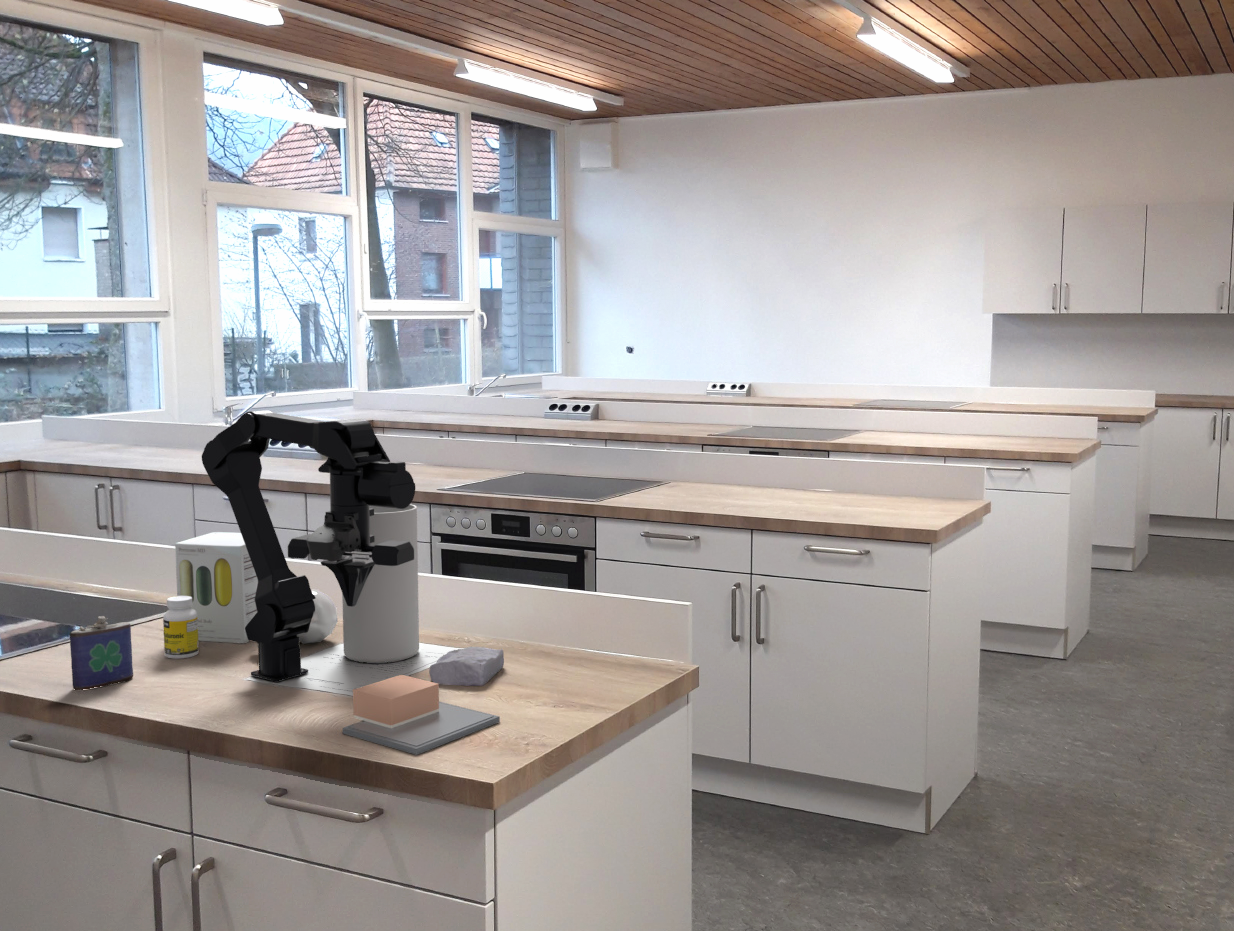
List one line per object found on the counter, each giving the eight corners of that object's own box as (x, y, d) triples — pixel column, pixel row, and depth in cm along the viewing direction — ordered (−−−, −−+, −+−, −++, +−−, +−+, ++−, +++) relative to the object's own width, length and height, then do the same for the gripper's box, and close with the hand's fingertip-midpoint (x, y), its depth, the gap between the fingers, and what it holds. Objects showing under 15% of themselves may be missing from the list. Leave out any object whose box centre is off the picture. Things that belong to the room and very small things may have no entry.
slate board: (342, 733, 158) (342, 726, 157) (427, 703, 170) (427, 697, 170) (416, 754, 149) (416, 748, 149) (499, 722, 162) (499, 715, 162)
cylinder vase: (378, 641, 206) (375, 500, 203) (434, 650, 200) (432, 506, 197) (327, 657, 195) (324, 509, 193) (384, 668, 189) (381, 515, 186)
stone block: (426, 696, 181) (487, 687, 179) (420, 665, 181) (481, 656, 179) (452, 677, 192) (509, 668, 190) (446, 648, 192) (504, 639, 190)
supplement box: (176, 640, 207) (172, 542, 205) (217, 622, 220) (214, 530, 218) (244, 644, 204) (241, 545, 202) (281, 626, 217) (279, 533, 215)
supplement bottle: (157, 657, 195) (155, 599, 194) (180, 649, 200) (178, 593, 199) (183, 660, 193) (180, 602, 192) (205, 652, 198) (203, 596, 197)
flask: (129, 676, 185) (125, 609, 183) (137, 679, 183) (134, 612, 181) (69, 689, 178) (65, 620, 177) (77, 693, 176) (74, 623, 175)
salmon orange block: (352, 689, 161) (390, 699, 156) (401, 674, 168) (438, 683, 164) (353, 717, 161) (391, 728, 157) (401, 701, 168) (439, 711, 164)
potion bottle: (339, 643, 210) (275, 673, 198) (304, 608, 213) (239, 635, 200) (357, 607, 206) (293, 635, 193) (320, 571, 209) (255, 597, 196)
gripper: (264, 507, 170) (266, 612, 172) (376, 514, 164) (378, 623, 166) (308, 497, 181) (310, 596, 182) (415, 504, 174) (416, 606, 176)
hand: (351, 606), depth 176 cm, fingers closed
